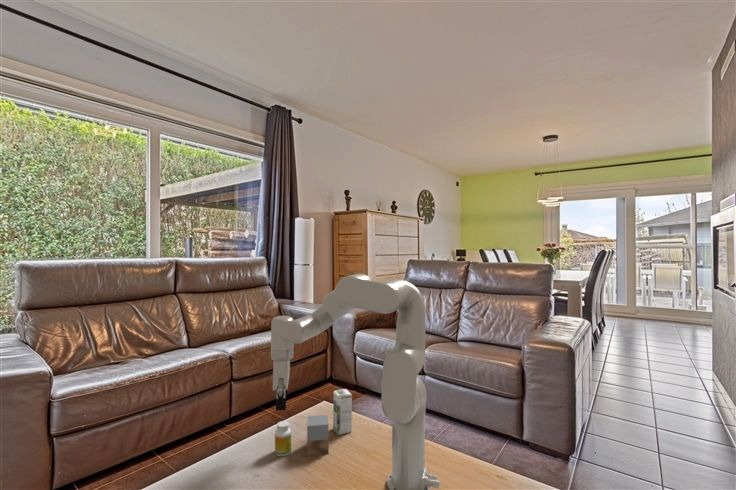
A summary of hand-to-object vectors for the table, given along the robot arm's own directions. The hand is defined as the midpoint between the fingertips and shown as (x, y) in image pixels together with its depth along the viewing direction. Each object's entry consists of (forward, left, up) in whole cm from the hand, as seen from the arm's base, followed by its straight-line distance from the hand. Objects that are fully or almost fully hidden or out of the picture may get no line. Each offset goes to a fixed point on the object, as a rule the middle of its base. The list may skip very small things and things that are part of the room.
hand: (281, 403), depth 124 cm
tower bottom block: (-11, -6, -17) cm, 21 cm away
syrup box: (-14, -20, -17) cm, 29 cm away
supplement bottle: (-1, 0, -17) cm, 17 cm away
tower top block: (-11, -6, -12) cm, 17 cm away
